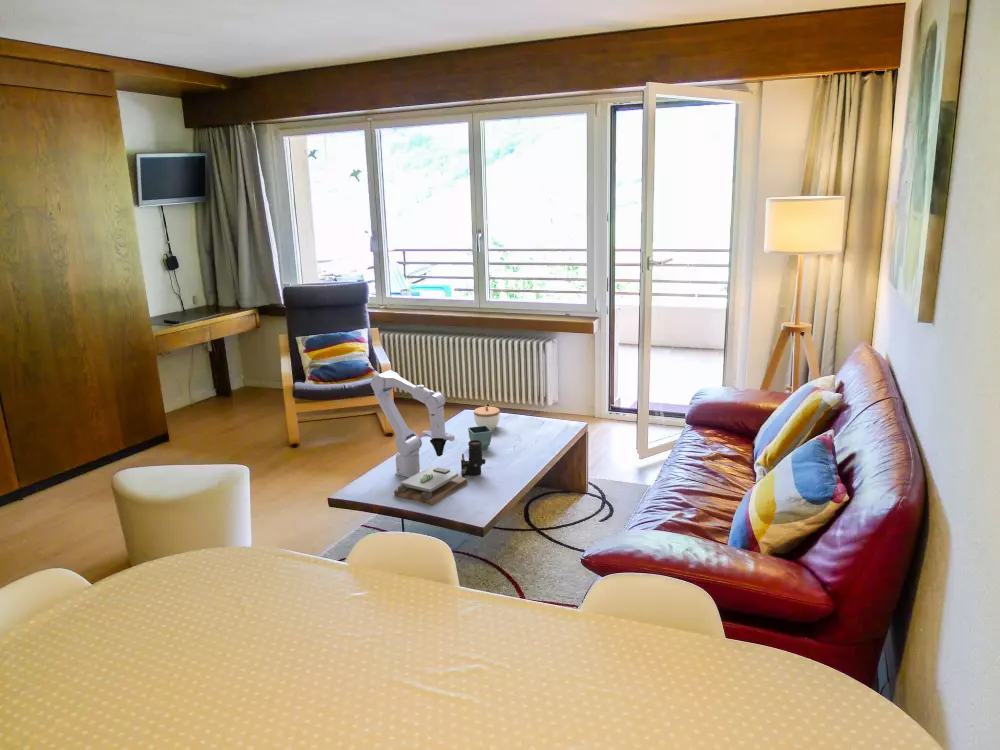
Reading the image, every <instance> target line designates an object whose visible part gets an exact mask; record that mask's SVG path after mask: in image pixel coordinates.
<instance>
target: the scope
mask: <svg viewBox="0 0 1000 750" xmlns="http://www.w3.org/2000/svg"><path fill="white" fill-rule="evenodd" d="M467 443H468V460H466V459H465V454H464V453H461V460H460V465H461V466H460V467H461V470H460V472H461V477H462V478H465V477H468V476H469V477H470V476H471V477H472V476H473V477H477V476H478V477H479V476H481V475H482V466H483V465H485V464H486V459H485V458H483V449H482V447H481V445H482V442H481V441H479V440H472V441H470V440H469V441H468V442H467Z"/></svg>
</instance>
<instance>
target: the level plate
mask: <svg viewBox="0 0 1000 750" xmlns="http://www.w3.org/2000/svg"><path fill="white" fill-rule="evenodd" d="M422 470H423V471H421V472H419V473H417V474H416V475H414V476H412V477H410V478H409V477H407V478H406V479H405V480H402V481H401V482H400V485H403V486H407V487H411V488H415V489H418V490H422V491H426V492H432V491H434V490H435V489H437V488H439V487H440V486H442V485H444V484H446V483H447V482H449V481H451V480H452V479H454V478H456V477H459V473H458V472H454V471H451V470H450V469H448V468H443V467H439V466H438V467H433V466H429V467H427V468H425V469H422Z"/></svg>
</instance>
